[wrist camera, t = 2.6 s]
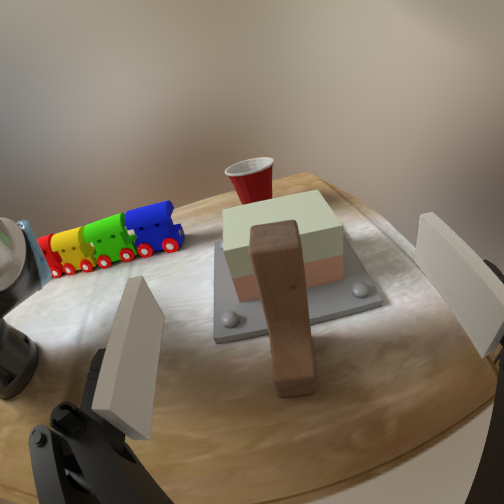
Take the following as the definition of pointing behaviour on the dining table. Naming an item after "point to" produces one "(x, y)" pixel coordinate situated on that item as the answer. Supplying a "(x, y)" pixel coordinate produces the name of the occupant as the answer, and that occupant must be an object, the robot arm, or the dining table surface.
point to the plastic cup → (252, 179)
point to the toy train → (113, 240)
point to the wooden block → (284, 304)
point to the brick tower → (315, 264)
